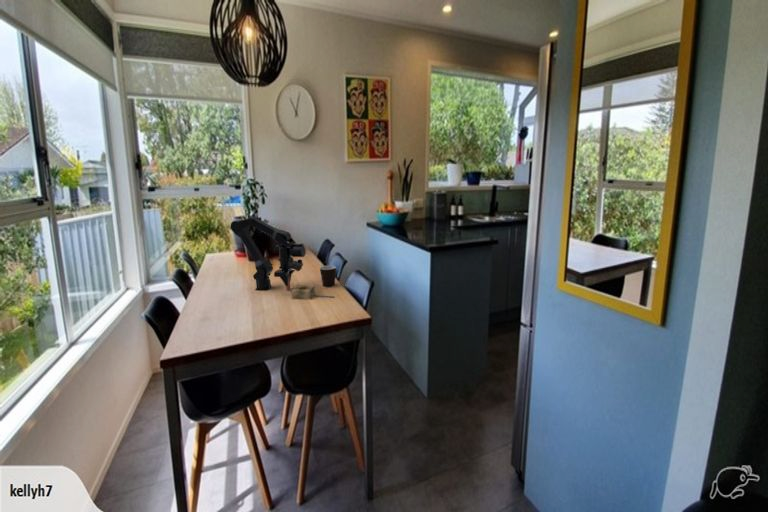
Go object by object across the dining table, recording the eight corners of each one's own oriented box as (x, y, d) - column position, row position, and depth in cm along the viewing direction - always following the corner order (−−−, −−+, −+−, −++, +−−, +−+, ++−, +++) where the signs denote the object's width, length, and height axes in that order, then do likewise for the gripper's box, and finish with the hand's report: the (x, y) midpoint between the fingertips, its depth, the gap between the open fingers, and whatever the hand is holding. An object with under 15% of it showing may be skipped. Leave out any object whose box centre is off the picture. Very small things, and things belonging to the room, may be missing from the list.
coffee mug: (333, 288, 196) (332, 270, 193) (318, 287, 197) (317, 269, 195) (340, 281, 207) (339, 264, 204) (326, 280, 208) (325, 263, 206)
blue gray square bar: (313, 296, 184) (313, 295, 184) (314, 295, 185) (314, 294, 185) (333, 297, 181) (333, 297, 181) (334, 297, 182) (334, 296, 182)
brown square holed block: (291, 298, 181) (291, 291, 180) (298, 292, 189) (297, 285, 188) (309, 299, 180) (309, 291, 179) (315, 293, 188) (314, 285, 188)
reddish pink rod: (285, 290, 194) (283, 273, 191) (286, 288, 196) (285, 272, 194) (289, 290, 193) (288, 273, 191) (291, 288, 196) (289, 272, 193)
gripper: (294, 261, 180) (296, 291, 184) (306, 252, 198) (308, 280, 202) (272, 260, 182) (275, 290, 185) (286, 252, 200) (288, 279, 203)
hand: (287, 285), depth 194 cm, fingers closed on reddish pink rod, 2 cm apart
